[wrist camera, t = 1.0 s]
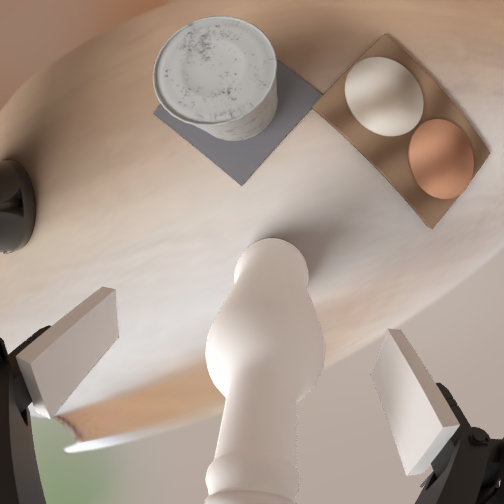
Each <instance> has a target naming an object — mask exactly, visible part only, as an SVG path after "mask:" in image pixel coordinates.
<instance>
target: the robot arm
mask: <svg viewBox="0 0 504 504" xmlns="http://www.w3.org/2000/svg"><path fill="white" fill-rule="evenodd" d="M34 221H35V199H34V193H33V188H32V185H31V182H30V179H29V177H28V175H27V173H26V171H25V170H24V168H23V167H22V166H21V165H20V164H19V163H17V162H15V161H12V160H5V161H0V253H2V254H8V253H12V252H14V251H16V250H19V249H21V248H22V247H24V246H25V245H26V243H27V242H28V240H29V238H30V236H31V234H32V231H33V227H34ZM118 338H119V331H118V320H117V306H116V290H115V289H111V288H107V287H101V288H100V289H99V290H97V291H96V292H95V293H93V294H92V295H91V296H90V297H88V298H87V299H86V300H84V301H83V302H82V303H80V304H79V305H78V306H77V307H75V308H74V309H73V310H71V311H70V312H69V313H68V314H66V315H65V316H64V317H63V318H61V319H60V320H59V321H58V322H56V323H55V324H54V325H53V326H50V325H49V326H47V327H44V328H42V329H39V330H38V331H37V332H36V333H34V334H33V335H32V337H29V338H28V339H27V340H26V341H24V342H23V343H22V344H21V345H19V346H18V347H17V348H16V349H15V350H13V351H12V352H11V353H10V354H9V355H8V353H7V350H6V347H5V344H4V340H3V339H2V338H0V504H46V501H45V497H44V493H43V489H42V485H41V481H40V476H39V471H38V466H37V461H36V456H35V450H34V444H33V436H32V429H31V421H30V420H31V419H30V412H29V409H28V405H29V404H30V403H31V402H33V405H34V407H35V410H36V412H37V413H39V414H41V415H43V416H45V417H47V418H49V419H52V417H53V416H54V415H55V414H56V412H57V411H58V410H59V409H60V407H61V406H62V405H63V404H64V402H65V401H66V400H67V399H68V397H69V396H70V395H71V394H72V393H73V391H74V390H75V389H76V388H77V386H78V385H79V384H80V383H81V382H82V380H83V379H84V378H85V377H86V376H87V374H88V373H89V372H90V371H91V370H92V368H93V367H94V366H95V365H96V364H97V362H98V361H99V360H100V359H101V358H102V356H103V355H104V354H105V353H106V352H107V351H108V349H109V348H110V347H111V346H112V345H113V344H114V342H115V341H116V340H117V339H118ZM371 377H372V380H373V382H374V385H375V387H376V390H377V393H378V395H379V398H380V400H381V403H382V406H383V409H384V411H385V414H386V417H387V419H388V423H389V425H390V428H391V431H392V434H393V437H394V440H395V443H396V446H397V449H398V451H399V455H400V458H401V461H402V464H403V466H404V470H405V473H406V476H410V475H416V474H422V473H424V471H425V470H426V469H427V468H428V467H429V466H430V464H431V465H432V467H433V470H434V471H433V472H432V473H431V475H429V477H428V478H427V479H426V480H425V481H424V482H423V483H422V484H421V486H420V487H423V486H424V485H425V486H424V488H423V490H422V491H421V493H420V495H419V497H418V499H417V501H416V503H415V504H504V438H503V439H502V440H501V439H490V437H489V435H488V434H487V433H486V432H485V431H484V430H482V429H480V428H477V427H471V426H470V424H469V423H468V421H467V419H466V418H465V416H464V415H463V413H462V411H461V409H460V408H459V406H457V403H456V401H455V400H454V399H453V396H452V395H451V393H450V392H449V390H448V389H447V388H446V387H445V386H443V385H442V384H441V383H435V381H434V380H433V378H432V377H431V375H430V374H429V372H428V370H427V369H426V367H425V366H424V364H423V363H422V361H421V359H420V358H419V356H418V355H417V353H416V352H415V350H414V349H413V347H412V345H411V344H410V343H409V341H408V339H407V338H406V337H405V335H404V334H403V332H402V331H401V330H398V329H387V331H386V334H385V337H384V340H383V343H382V345H381V348H380V351H379V354H378V356H377V359H376V362H375V364H374V367H373V369H372V372H371ZM500 480H501V482H500V487H499V481H500Z"/></svg>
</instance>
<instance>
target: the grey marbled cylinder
mask: <svg viewBox="0 0 504 504" xmlns="http://www.w3.org/2000/svg"><path fill="white" fill-rule="evenodd" d="M276 71H277V60H276V54H275V50H274V48H273V46H272V44H271V42H270V40H269V39H268V38H267V36H266V35H265V34H264V33H263V32H262V31H261V30H260V29H259V28H257V27H256V26H254V25H253V24H251V23H249V22H247V21H245V20H242V19H239V18H234V17H229V16H212V17H207V18H202V19H199V20H196V21H194V22H191V23H189V24H187V25H185V26H184V27H182V28H181V29H179V30H178V31H176V32H175V33H174V34H173V35H172V36H171V37H170V38H169V39H168V40H167V41H166V42H165V44H164V45H163V47H162V48H161V50H160V51H159V54H158V56H157V58H156V61H155V64H154V70H153V87H154V90H155V93H156V96H157V98H158V100H159V101H160V103H161V104H162V106H163V107H164V108H165V109H166V110H167V111H168V112H169V113H170V114H171V115H172V116H174V117H176V118H177V119H179V120H181V121H183V122H185V123H189V124H192V125H194V126H196V127H198V128H200V129H202V130H204V131H206V132H208V133H209V134H211V135H213V136H215V137H216V138H220V139H223V140H228V141H239V140H245V139H248V138H251V137H254V136H255V135H257V134H259V133H260V132H262V131H263V130H264V129H265V128H266V127H267V126H268V125H269V124H270V122H271V121H272V119H273V118H274V115H275V112H276V110H277V103H278V97H277V83H276Z"/></svg>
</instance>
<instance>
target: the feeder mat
mask: <svg viewBox="0 0 504 504" xmlns="http://www.w3.org/2000/svg"><path fill="white" fill-rule="evenodd" d="M276 60H277V59H276ZM276 83H277V97H278V103H277V110H276V112H275V115H274V118H273V119H272V121H271V122H270V124H269V125H268V126H267V127H266V128H265V129H264V130H263V131H262V132H260V133H259V134H257V135H255V136H254V137H251V138H248V139H245V140H239V141H228V140H223V139H220V138H216V137H215V136H213V135H211V134H209V133H208V132H206V131H204V130H202V129H200V128H198V127H196V126H194V125H192V124H189V123H185V122H183V121H181V120H179V119H177V118H176V117H174V116H172V115H171V114H170V113H169V112H168V111H167V110H166V109H165V108H164V107H163V106H162V104H160V105H159V106H158V108H157V109H156V110H155V111H154V113H153V114H154V115H156V116H157V117H158V118H159V119H161V120H162V121H163V122H164V123H166V124H167V125H168V126H170V127H171V128H172V129H173V130H175V131H176V132H177V133H178V134H180V135H181V136H182V137H183V138H184V139H186V140H187V141H188V142H189V143H191V144H192V145H193V146H194V147H196V148H197V149H198V150H199V151H200V152H202V153H203V154H204V155H205V156H206V157H208V158H209V159H210V160H211V161H213V162H214V163H215V164H216V165H217V166H219V167H220V168H221V169H222V170H223V171H224V172H226V173H227V174H228V175H229V176H230V177H232V178H233V179H234V180H235V181H236V182H237V183H239V184H240V185H241V186H242V185H243V184H244V183H245V181H246V180H247V179H248V178H249V177H250V176H251V174H252V173H253V172H254V171H255V170H256V169H257V168H258V166H259V165H260V164H261V163H262V162H263V161H264V160H265V159H266V157H267V156H268V155H269V154H270V153H271V152H272V151H273V150H274V149H275V147H276V146H277V145H278V144H279V143H280V142H281V141H282V140H283V139H284V137H285V136H286V135H287V134H288V133H289V132H290V131H291V130H292V129H293V128H294V127H295V125H296V124H297V123H298V122H299V121H300V120H301V119H302V118H303V117H304V116H305V115H306V114H307V113H308V112H309V110H310V109H311V108H312V107H313V105H314V104H315V103H316V102H317V101H318V100H319V99H320V98H321V97H322V96H323V95H322V94H321V93H319V92H318V91H317V90H316V89H314V88H313V87H312V86H311V85H310V84H308V83H307V82H306V81H305V80H303V79H302V78H301V77H300V76H298V75H297V74H296V73H294V72H293V71H292V70H290V69H289V68H288V67H286V66H285V65H284V64H282V63H281V62H280V61H278V60H277V71H276Z"/></svg>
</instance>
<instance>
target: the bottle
mask: <svg viewBox="0 0 504 504" xmlns="http://www.w3.org/2000/svg"><path fill="white" fill-rule="evenodd" d="M234 279H235V285H234V286H233V288H232V290H231V292H230V293H229V295H228V297H227V299H226V301H225V302H224V304H223V306H222V308H221V309H220V311H219V313H218V315H217V317H216V318H215V320H214V322H213V324H212V326H211V328H210V330H209V333H208V338H207V343H206V352H205V354H206V361H207V367H208V371H209V374H210V376H211V379H212V381H213V383H214V385H215V386H216V387H217V388H218V389H219V390H220V392H221V393H222V394H223V395H224V396H225V397H226V402H225V407H224V412H223V417H222V422H221V427H220V432H219V437H218V442H217V447H216V453H215V457H214V461H213V462H212V463H211V464H210V465H209V467H208V470H207V474H206V484H207V487H208V493H209V496H208V497H207V498H206V499H205V502H204V504H296V503H295V496H296V494H297V492H298V491H299V485H300V475H299V472H298V470H297V468H296V403H297V402H299V401H300V400H301V399H303V398H304V397H305V396H306V395H307V394H308V393H309V392H310V391H311V390H312V389H313V388H314V386H315V385H316V383H317V381H318V379H319V376H320V374H321V372H322V369H323V367H324V360H325V348H326V345H325V340H324V336H323V332H322V328H321V324H320V322H319V319H318V316H317V314H316V311H315V308H314V306H313V303H312V300H311V298H310V295H309V292H308V290H307V286H308V283H309V272H308V268H307V265H306V261H305V259H304V257H303V255H302V254H301V252H300V251H299V250H298V249H297V248H296V247H295V246H294V245H292V244H290V243H289V242H287V241H285V240H281V239H277V238H266V239H263V240H259V241H257V242H255V243H253V244H252V245H250V246H249V247H248V248H247V249H246V250H245V251H244V252H243V253H242V255H241V256H240V258H239V260H238V262H237V265H236V269H235V273H234Z"/></svg>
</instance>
